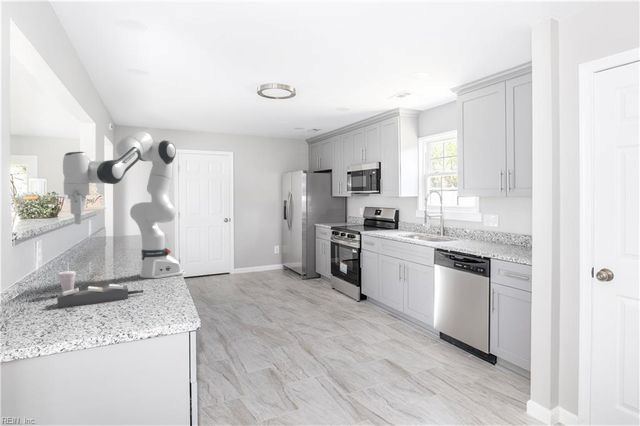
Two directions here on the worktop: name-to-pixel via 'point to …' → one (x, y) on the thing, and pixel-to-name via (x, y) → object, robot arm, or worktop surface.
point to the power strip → (94, 296)
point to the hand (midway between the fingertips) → (78, 224)
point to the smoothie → (67, 279)
